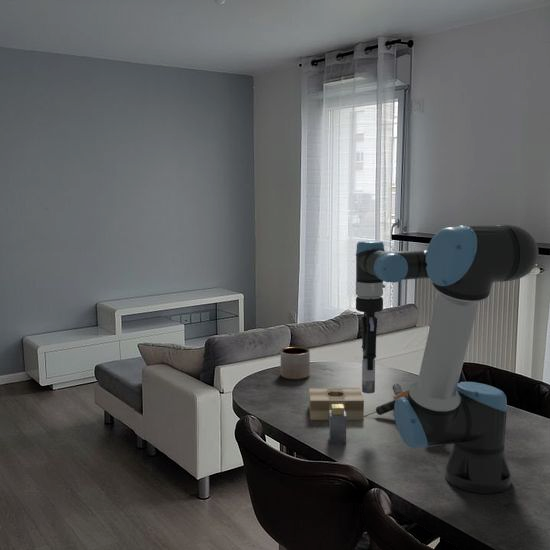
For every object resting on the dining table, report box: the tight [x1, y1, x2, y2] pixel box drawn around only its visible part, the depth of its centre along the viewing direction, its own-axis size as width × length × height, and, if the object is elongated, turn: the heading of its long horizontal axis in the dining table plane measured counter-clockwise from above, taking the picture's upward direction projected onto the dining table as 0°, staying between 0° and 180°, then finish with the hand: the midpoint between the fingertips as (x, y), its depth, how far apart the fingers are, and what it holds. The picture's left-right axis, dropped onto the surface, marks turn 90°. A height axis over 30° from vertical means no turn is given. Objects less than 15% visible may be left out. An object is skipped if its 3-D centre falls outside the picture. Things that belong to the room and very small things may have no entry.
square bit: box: [328, 404, 347, 445], centre depth 178 cm, size 4×4×10 cm
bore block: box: [308, 387, 365, 421], centre depth 200 cm, size 12×16×6 cm
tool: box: [364, 383, 409, 418], centre depth 193 cm, size 4×27×30 cm
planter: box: [279, 346, 311, 381], centre depth 237 cm, size 11×11×10 cm
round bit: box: [361, 349, 376, 394], centre depth 182 cm, size 4×4×12 cm
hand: (368, 378), depth 182 cm, fingers closed on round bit, 3 cm apart
